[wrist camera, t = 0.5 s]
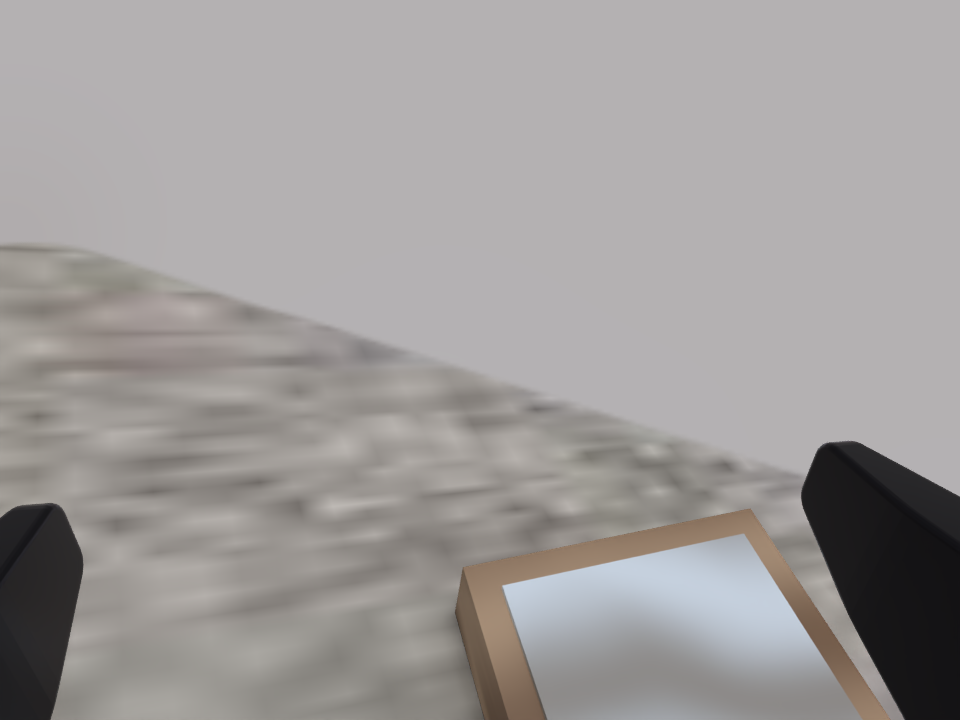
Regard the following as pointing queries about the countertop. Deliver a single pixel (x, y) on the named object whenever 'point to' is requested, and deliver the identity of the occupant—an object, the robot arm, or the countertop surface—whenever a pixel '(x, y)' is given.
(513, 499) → the countertop surface
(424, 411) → the countertop surface
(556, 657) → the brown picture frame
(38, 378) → the countertop surface
